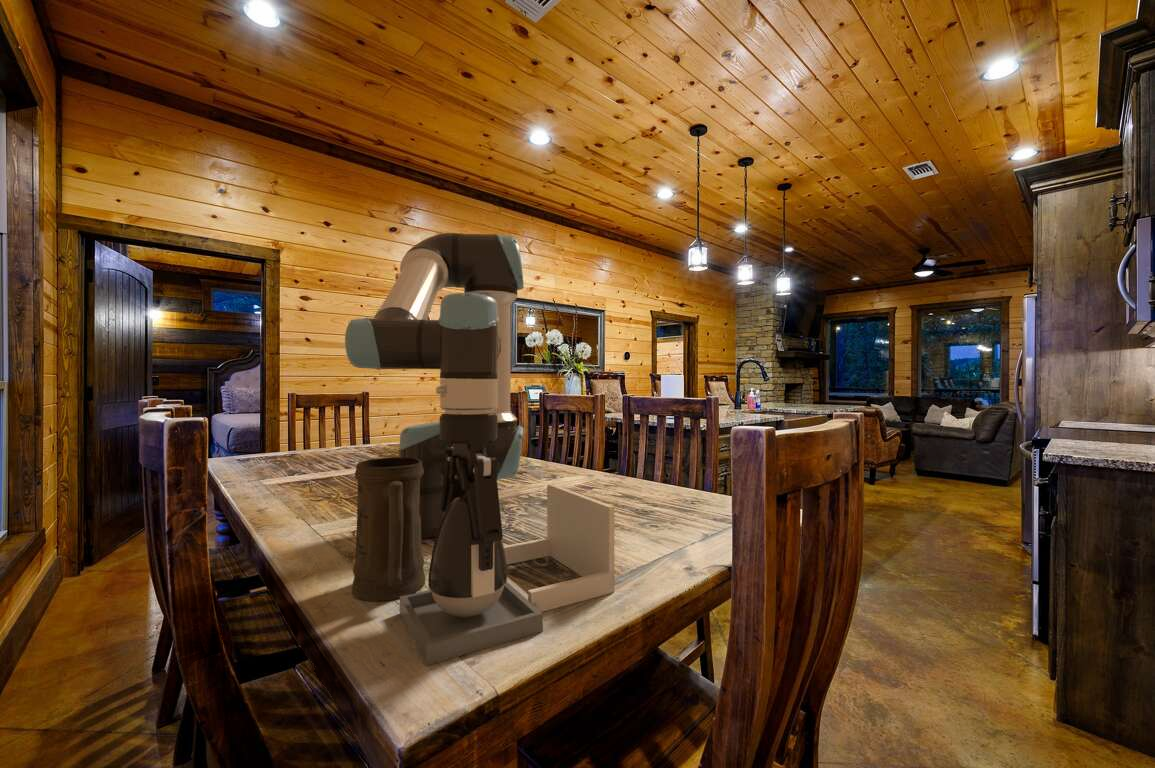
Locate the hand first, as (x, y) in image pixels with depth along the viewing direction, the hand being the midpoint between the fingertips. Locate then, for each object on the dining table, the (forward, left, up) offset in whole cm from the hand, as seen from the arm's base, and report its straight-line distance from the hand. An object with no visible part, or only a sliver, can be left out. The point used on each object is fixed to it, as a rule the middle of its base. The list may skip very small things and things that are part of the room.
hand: (468, 579), depth 64 cm
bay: (-7, +15, -6) cm, 18 cm away
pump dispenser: (0, 0, -4) cm, 4 cm away
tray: (0, 0, -6) cm, 6 cm away
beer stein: (-15, -7, -6) cm, 17 cm away
